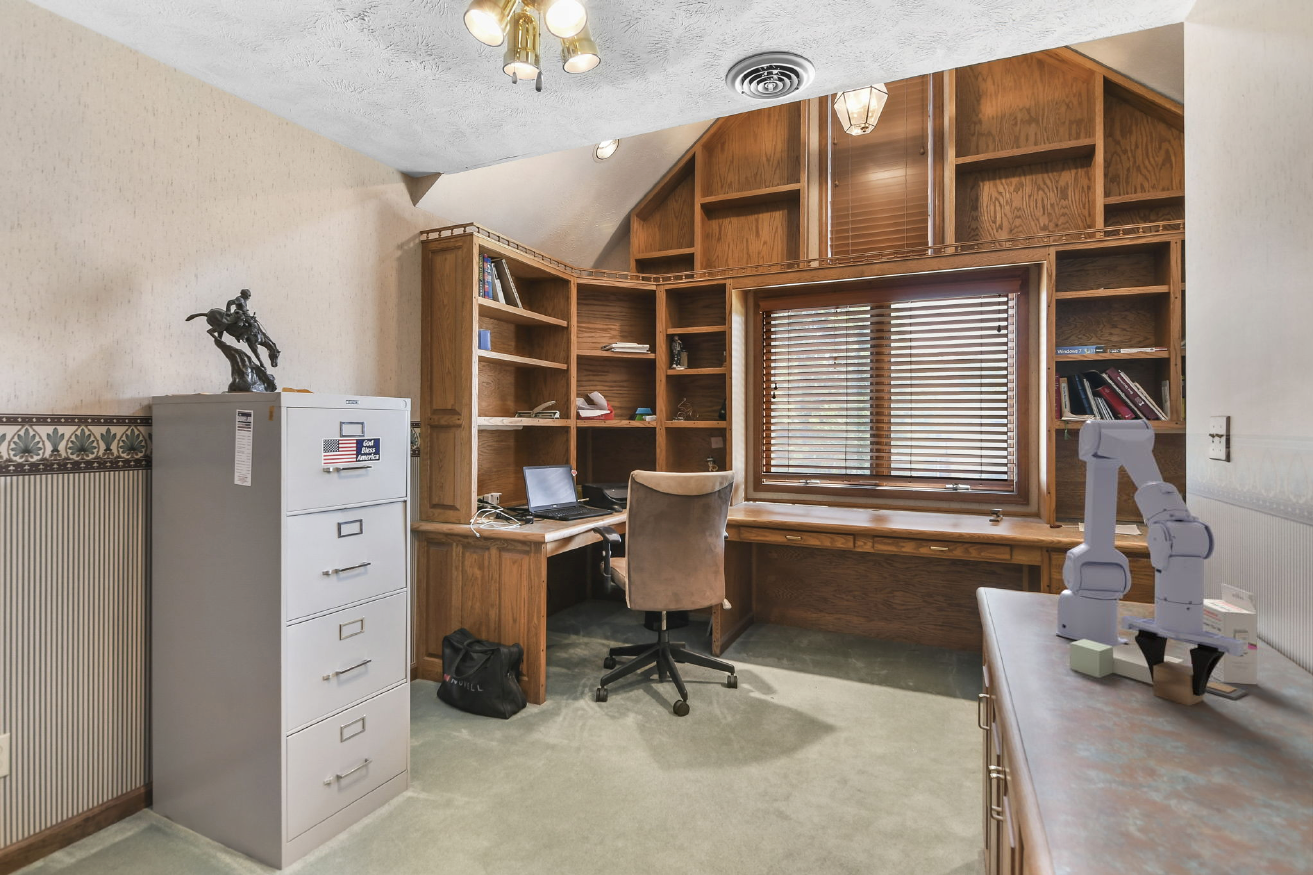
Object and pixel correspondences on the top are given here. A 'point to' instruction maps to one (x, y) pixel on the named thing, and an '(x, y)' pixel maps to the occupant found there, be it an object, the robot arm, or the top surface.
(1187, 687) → the walnut block
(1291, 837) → the top surface
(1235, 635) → the ink cartridge box
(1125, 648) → the base block
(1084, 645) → the sage block
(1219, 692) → the tile
